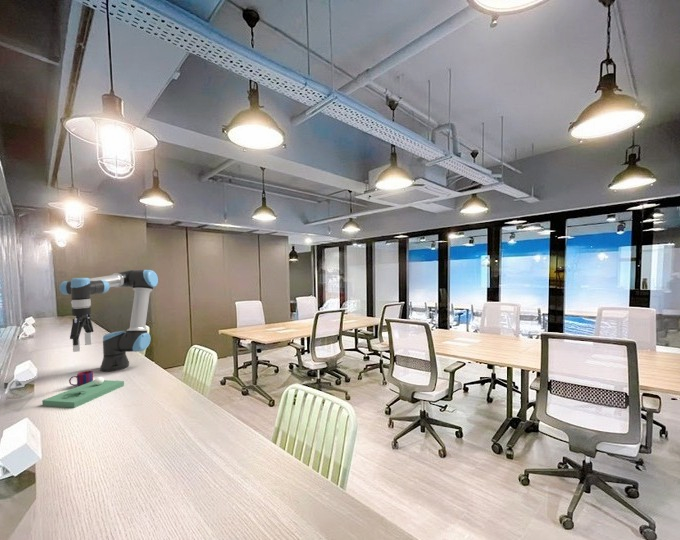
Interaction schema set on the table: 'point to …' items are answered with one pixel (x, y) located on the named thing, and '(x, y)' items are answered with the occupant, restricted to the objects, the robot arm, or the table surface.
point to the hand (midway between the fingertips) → (82, 348)
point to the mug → (83, 378)
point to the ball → (99, 381)
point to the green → (82, 394)
